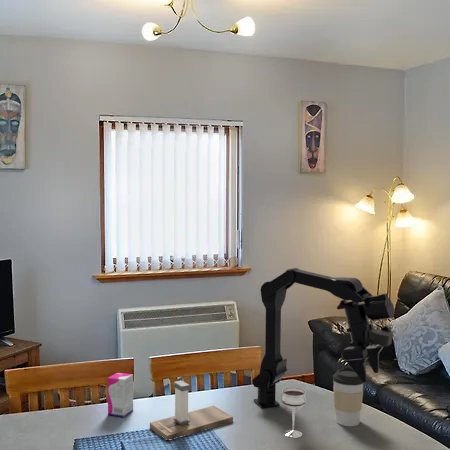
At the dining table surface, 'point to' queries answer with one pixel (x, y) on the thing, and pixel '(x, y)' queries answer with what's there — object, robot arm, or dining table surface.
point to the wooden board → (191, 422)
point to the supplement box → (120, 394)
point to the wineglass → (293, 406)
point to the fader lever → (181, 402)
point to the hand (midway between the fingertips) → (370, 377)
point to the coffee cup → (347, 397)
